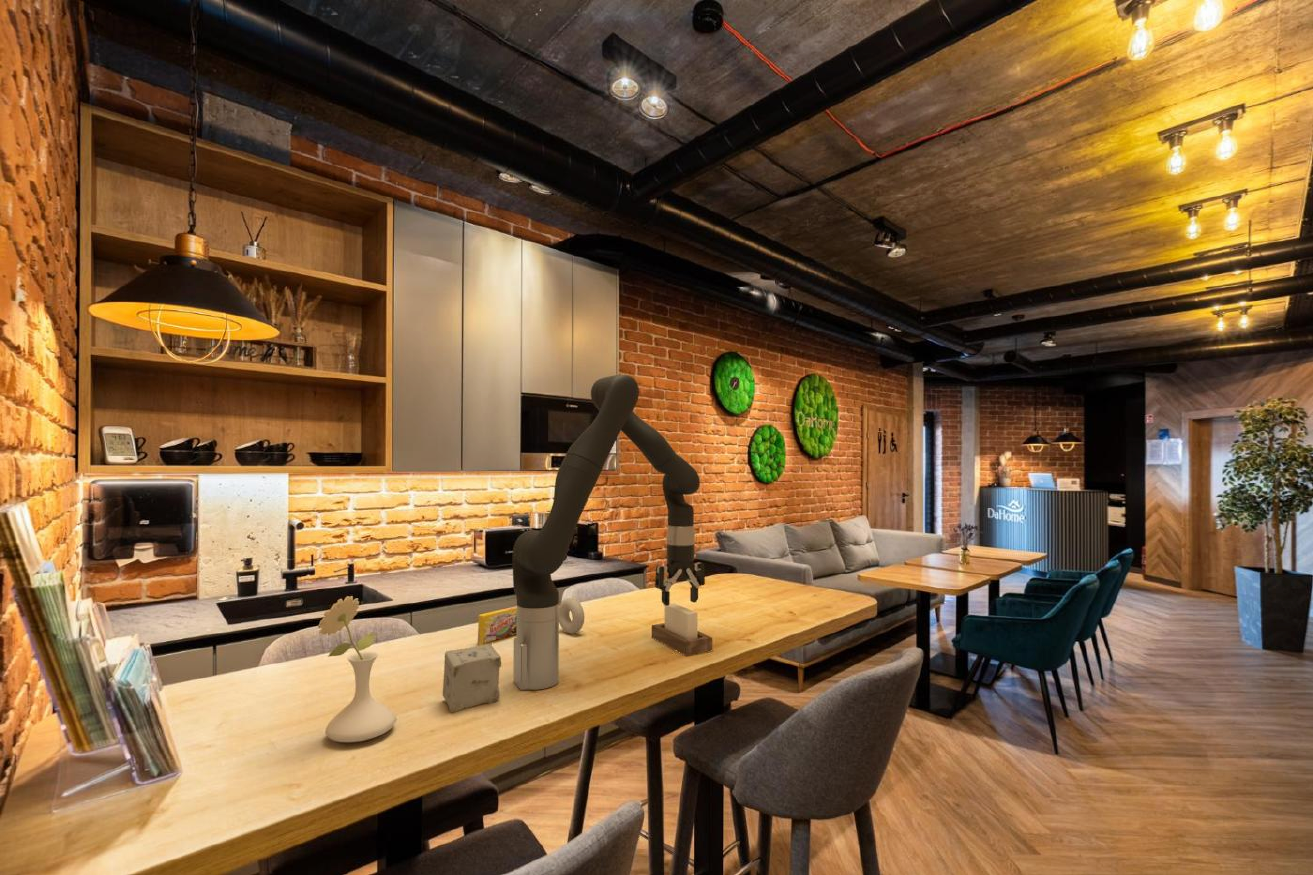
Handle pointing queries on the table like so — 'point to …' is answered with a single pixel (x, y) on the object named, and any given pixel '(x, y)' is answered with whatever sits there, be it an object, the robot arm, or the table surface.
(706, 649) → the brown rectangular tray
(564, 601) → the donut
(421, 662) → the table surface
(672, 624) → the white rectangular block
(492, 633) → the candy box
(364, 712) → the flower in vase
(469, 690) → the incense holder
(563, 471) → the robot arm
